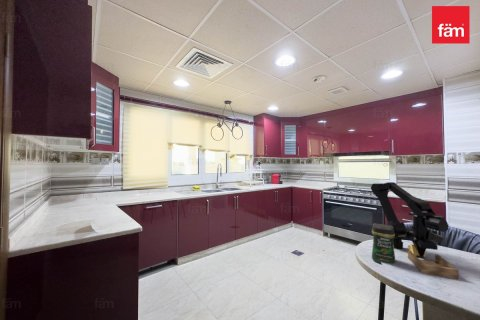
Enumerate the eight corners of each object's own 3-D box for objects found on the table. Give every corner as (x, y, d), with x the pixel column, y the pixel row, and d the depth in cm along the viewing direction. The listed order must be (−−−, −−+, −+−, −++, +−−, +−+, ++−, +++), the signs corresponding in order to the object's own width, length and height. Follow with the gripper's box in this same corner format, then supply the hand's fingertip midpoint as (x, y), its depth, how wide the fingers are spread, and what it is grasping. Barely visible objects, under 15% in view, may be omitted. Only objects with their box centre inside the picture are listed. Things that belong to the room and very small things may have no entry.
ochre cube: (413, 254, 103) (411, 244, 105) (410, 255, 107) (407, 245, 110) (426, 256, 101) (423, 245, 104) (421, 257, 106) (419, 246, 108)
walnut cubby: (421, 275, 88) (421, 264, 88) (407, 259, 102) (407, 250, 102) (458, 281, 83) (458, 270, 83) (438, 264, 98) (438, 254, 98)
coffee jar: (371, 262, 100) (371, 224, 101) (372, 256, 107) (371, 221, 107) (396, 267, 95) (395, 228, 95) (395, 261, 101) (394, 224, 102)
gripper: (452, 233, 90) (453, 268, 90) (431, 222, 108) (432, 252, 107) (420, 230, 95) (421, 263, 94) (406, 220, 112) (406, 248, 111)
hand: (421, 256), depth 102 cm, fingers closed
